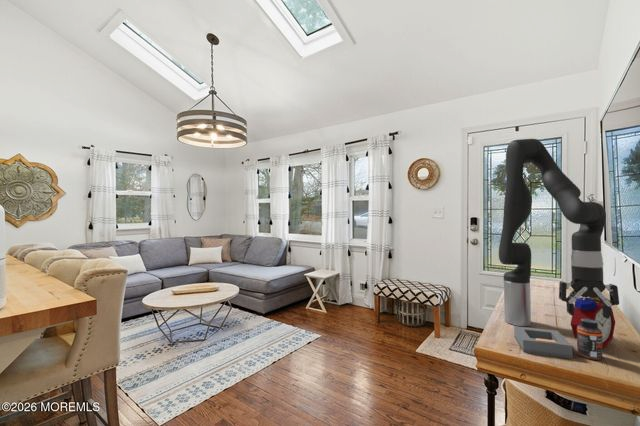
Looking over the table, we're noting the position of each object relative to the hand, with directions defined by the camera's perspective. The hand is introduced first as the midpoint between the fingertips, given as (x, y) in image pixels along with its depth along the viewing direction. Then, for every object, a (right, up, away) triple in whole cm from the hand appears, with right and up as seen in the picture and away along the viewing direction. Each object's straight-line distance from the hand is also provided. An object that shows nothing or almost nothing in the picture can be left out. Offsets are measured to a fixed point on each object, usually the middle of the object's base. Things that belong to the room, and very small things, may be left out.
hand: (588, 316), depth 95 cm
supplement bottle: (0, -13, 0) cm, 13 cm away
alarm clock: (+9, -13, +10) cm, 18 cm away
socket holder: (-10, -13, +7) cm, 18 cm away
